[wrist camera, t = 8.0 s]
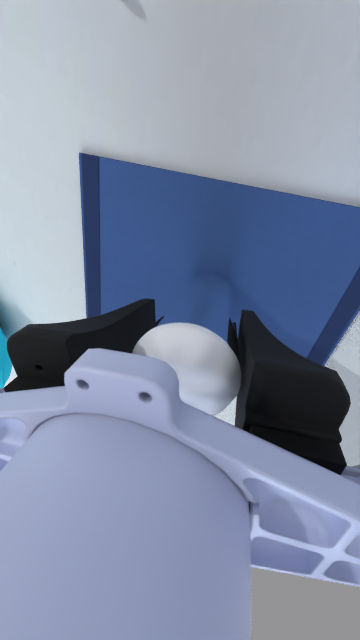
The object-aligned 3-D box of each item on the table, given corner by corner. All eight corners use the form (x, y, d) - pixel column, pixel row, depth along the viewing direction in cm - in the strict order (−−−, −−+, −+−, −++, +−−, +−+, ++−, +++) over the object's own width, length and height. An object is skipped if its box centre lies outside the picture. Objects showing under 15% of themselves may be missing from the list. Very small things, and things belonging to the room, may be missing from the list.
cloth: (415, 218, 13) (419, 219, 13) (303, 393, 20) (304, 396, 20) (81, 153, 15) (78, 152, 15) (88, 330, 23) (86, 332, 22)
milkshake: (162, 268, 16) (70, 357, 8) (242, 259, 15) (234, 358, 6) (174, 326, 18) (111, 444, 10) (245, 323, 17) (243, 462, 8)
